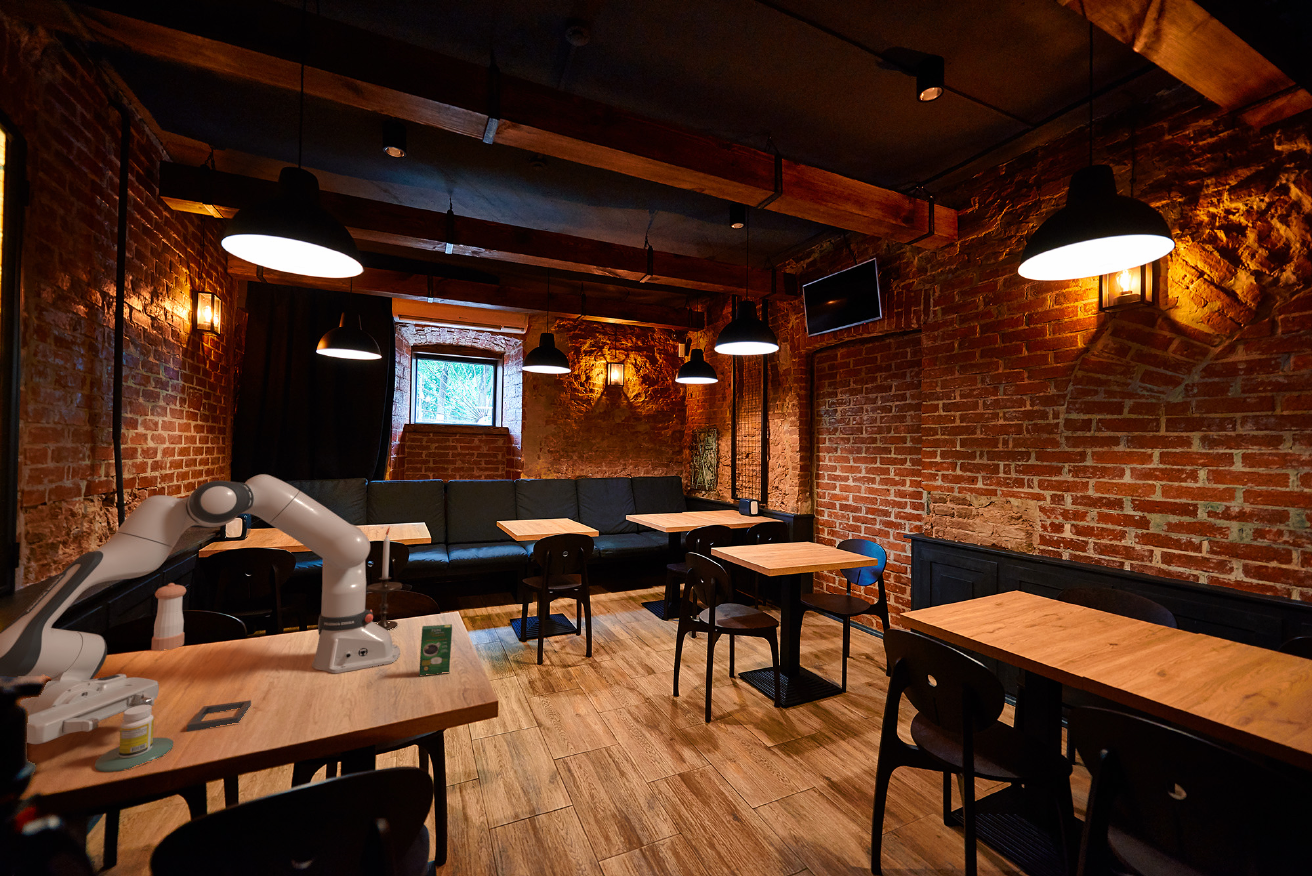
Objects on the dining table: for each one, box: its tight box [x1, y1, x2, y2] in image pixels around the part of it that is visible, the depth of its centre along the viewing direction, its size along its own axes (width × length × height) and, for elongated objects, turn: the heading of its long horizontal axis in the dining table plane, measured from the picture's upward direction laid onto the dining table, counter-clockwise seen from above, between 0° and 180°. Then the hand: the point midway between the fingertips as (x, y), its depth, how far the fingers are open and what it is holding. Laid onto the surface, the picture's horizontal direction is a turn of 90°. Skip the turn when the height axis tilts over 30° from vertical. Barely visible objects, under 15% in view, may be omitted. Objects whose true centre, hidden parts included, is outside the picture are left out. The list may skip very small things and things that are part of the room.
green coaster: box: [94, 736, 174, 773], centre depth 104 cm, size 11×11×1 cm
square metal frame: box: [186, 699, 252, 733], centre depth 119 cm, size 9×9×1 cm
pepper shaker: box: [150, 582, 187, 652], centre depth 161 cm, size 7×7×19 cm
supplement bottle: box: [118, 705, 155, 758], centre depth 105 cm, size 5×5×8 cm
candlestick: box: [366, 526, 403, 631], centre depth 183 cm, size 11×11×35 cm
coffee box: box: [418, 623, 453, 677], centre depth 146 cm, size 8×3×13 cm, turn 110°
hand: (123, 713), depth 105 cm, fingers open, 8 cm apart
